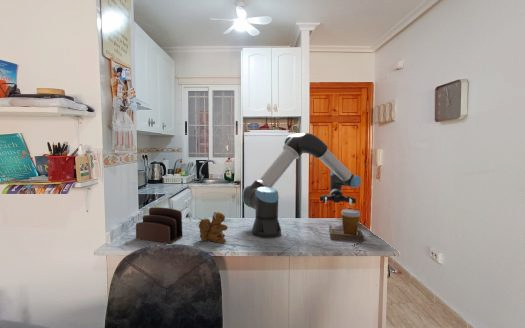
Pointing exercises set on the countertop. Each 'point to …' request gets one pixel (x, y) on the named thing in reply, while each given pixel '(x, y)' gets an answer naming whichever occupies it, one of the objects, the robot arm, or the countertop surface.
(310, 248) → the countertop surface
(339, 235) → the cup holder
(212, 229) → the stuffed squirrel
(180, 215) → the letter holder
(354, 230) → the disposable coffee cup
